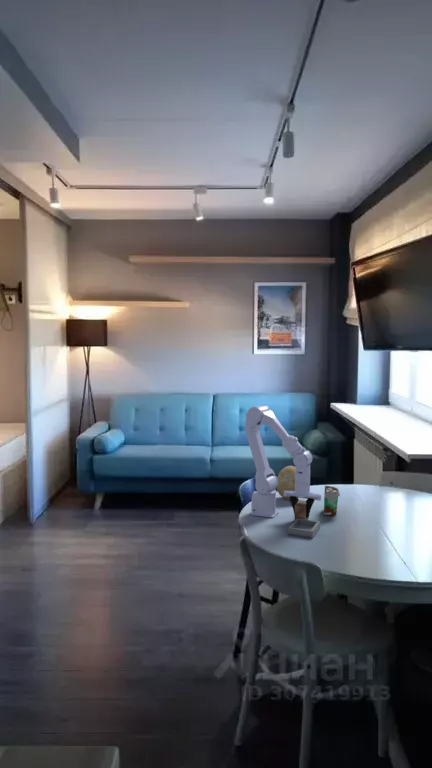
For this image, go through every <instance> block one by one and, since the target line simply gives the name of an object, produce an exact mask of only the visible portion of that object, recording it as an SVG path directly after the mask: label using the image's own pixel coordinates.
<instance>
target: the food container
mask: <svg viewBox="0 0 432 768" xmlns="http://www.w3.org/2000/svg"><path fill="white" fill-rule="evenodd" d="M323 495H324V496H323V497H324V498H323V517H325V516H326V517H328V516H329V517H335V516H336V515H337V511H338V502H339V497H340V496H341V494H340V490H339V489H338V487H335V486H331V485H324V494H323ZM329 517H328V518H329Z"/></svg>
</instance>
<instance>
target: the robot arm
mask: <svg viewBox="0 0 432 768" xmlns="http://www.w3.org/2000/svg"><path fill="white" fill-rule="evenodd" d="M263 425H264V426H268V427H270V429H271V430H272V431H273V432H274V433H275V434H276V435H277V436H278V438H279V439H280V440H281V445H282V447H283V448H284V449H285V450H286V452H287V453H288V454H289V455H290V456H291V457H292V459H293V460H292V461H293V462H292V463H293V464H294V467H296V470H295V491H284V497H286V496H288V497H290V499H289V500H288V501H289V502H290V505H291V507H292V510H293V515H294V517H295V504H296V503H297V502H298V501H299V498H300V499H306V500H305V501H306V518H308V517H309V518H310V512H311V509H312V508H313V504H314V502H315V501H320V502H321V500H322V494H318V493H314V492H311V489H310V488H311V463H312V462H313V458H314V457H313V455H312V453H311V451H310V450H307V449H306V447H303V445H302V444H301V443H300V442H299V441H298V440H299V439H298V437H296V436H294V435H290V434H289V432H287V431H286V429H285V428H284V427H283V425H282V424H281V422H280V421H279V419H278V418H277V416H275V413H274V411H273V410H272V409H270V407H269V406H268V405H266V404H262V405H257V406H252V407H249V409H248V410H247V412H246V413H245V425H244V431H245V435H246V438H247V441H248V445H249V448H250V452H251V455H252V458H253V462H254V466H255V470H256V473H255V476H254V479H255V485H254V487H255V489H256V491H253V492H252V495H251V504H250V505H251V509H250V510H251V511H250V515H251V516H257V517H265V518H272V519H273V518H275V517H276V516H277V515H278V514H279V511H278V510H276V500H277V497H276V496H277V489H276V488H277V486H278V484H279V481H278V478H277V475H276V474H275V472H274V470H273V469H272V468H271V467H270V463H269V460H268V458H267V454H266V449H265V447H264V443H263V439H262V436H261V432H260V429H261V427H262V426H263Z"/></svg>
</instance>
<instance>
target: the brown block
mask: <svg viewBox="0 0 432 768" xmlns="http://www.w3.org/2000/svg"><path fill="white" fill-rule="evenodd" d="M296 519H304V520H310V516H309V517H308V518H306V500H301V499H298V502H297V503H296V504H295V516H294V521H295V520H296ZM294 521H293V522H294Z"/></svg>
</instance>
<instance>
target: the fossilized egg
mask: <svg viewBox="0 0 432 768" xmlns="http://www.w3.org/2000/svg"><path fill="white" fill-rule="evenodd" d="M295 470H296V466H295V465H294V466H293V465H288V466H285V467H283V468H282V469H281V470H280V471H279V473H278V474H277V475H276V477H277V478H278V481H279V484H278V486H277V488H276V492H277V493H278V495H280V497H282V499H285V500H288V501H290V500H289V499H290V497H288V496H286V497H284V491H295Z"/></svg>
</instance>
